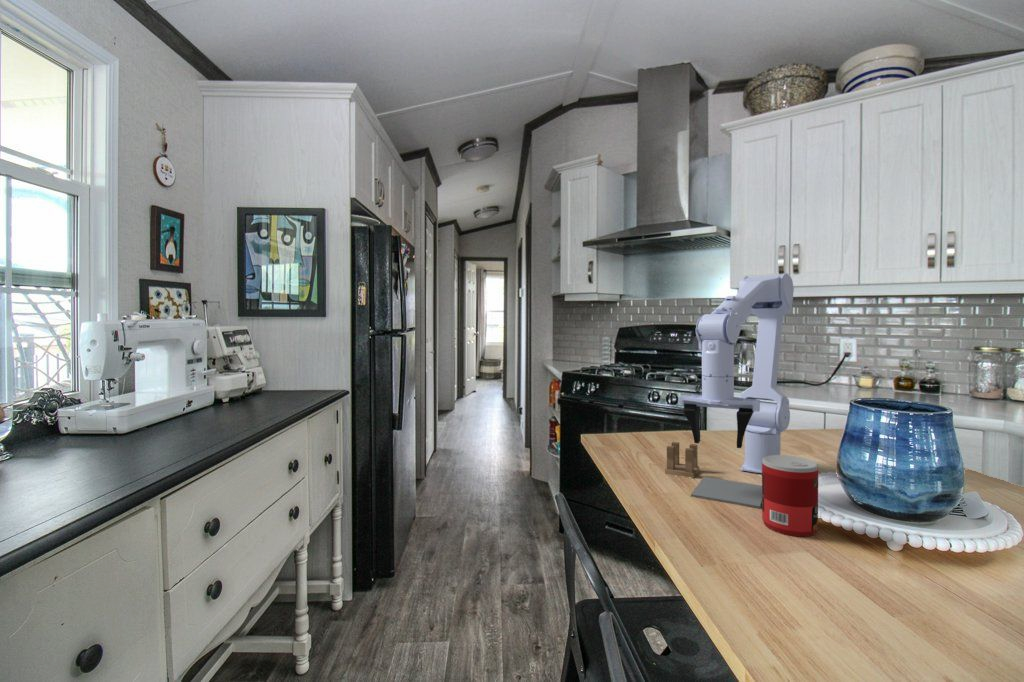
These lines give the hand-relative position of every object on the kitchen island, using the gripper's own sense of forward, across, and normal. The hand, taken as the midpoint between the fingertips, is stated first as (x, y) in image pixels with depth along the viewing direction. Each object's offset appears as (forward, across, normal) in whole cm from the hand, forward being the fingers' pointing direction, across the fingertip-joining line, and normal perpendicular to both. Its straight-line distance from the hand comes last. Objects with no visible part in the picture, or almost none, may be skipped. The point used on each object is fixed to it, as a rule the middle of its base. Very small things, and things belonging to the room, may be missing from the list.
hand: (717, 444), depth 93 cm
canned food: (+10, +12, -10) cm, 19 cm away
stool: (+10, -9, +10) cm, 17 cm away
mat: (+10, +2, +2) cm, 10 cm away
